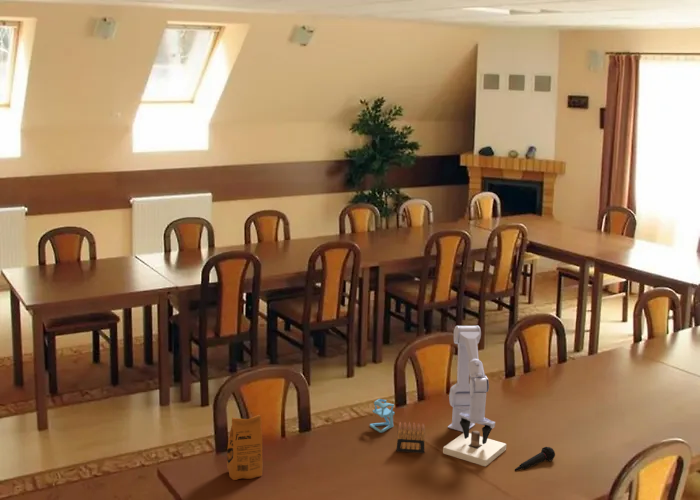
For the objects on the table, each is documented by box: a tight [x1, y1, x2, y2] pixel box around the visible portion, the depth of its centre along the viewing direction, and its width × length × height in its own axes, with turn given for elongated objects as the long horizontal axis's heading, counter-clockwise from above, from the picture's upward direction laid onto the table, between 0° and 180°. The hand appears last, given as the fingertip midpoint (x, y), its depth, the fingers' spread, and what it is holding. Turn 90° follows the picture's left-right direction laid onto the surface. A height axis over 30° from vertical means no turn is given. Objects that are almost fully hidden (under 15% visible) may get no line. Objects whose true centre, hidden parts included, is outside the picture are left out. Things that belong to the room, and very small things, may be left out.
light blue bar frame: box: [369, 398, 396, 434], centre depth 364 cm, size 8×8×12 cm
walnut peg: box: [471, 430, 481, 449], centre depth 345 cm, size 3×3×8 cm
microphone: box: [514, 446, 556, 472], centre depth 336 cm, size 6×6×20 cm
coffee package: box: [226, 414, 264, 481], centre depth 320 cm, size 10×12×22 cm
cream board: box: [442, 432, 507, 467], centre depth 345 cm, size 18×18×2 cm
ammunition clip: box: [396, 421, 426, 454], centre depth 343 cm, size 11×2×12 cm, turn 85°
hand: (475, 440), depth 345 cm, fingers open, 7 cm apart
